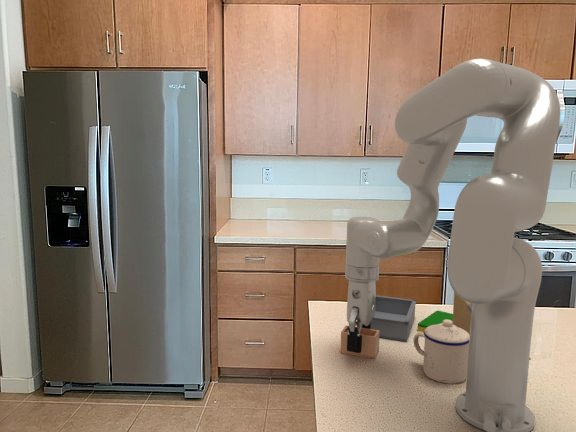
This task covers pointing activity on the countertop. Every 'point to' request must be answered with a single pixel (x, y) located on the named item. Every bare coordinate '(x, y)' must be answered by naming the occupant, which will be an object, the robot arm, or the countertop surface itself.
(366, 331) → the box
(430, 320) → the dish sponge
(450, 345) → the teacup with lid
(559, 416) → the countertop surface
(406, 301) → the big crate
